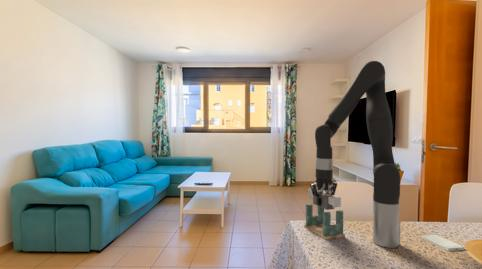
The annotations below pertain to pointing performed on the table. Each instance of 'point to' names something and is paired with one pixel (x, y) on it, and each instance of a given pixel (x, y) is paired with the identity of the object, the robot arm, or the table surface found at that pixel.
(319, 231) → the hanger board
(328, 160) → the robot arm
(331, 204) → the power strip
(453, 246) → the hard drive
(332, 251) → the table surface
